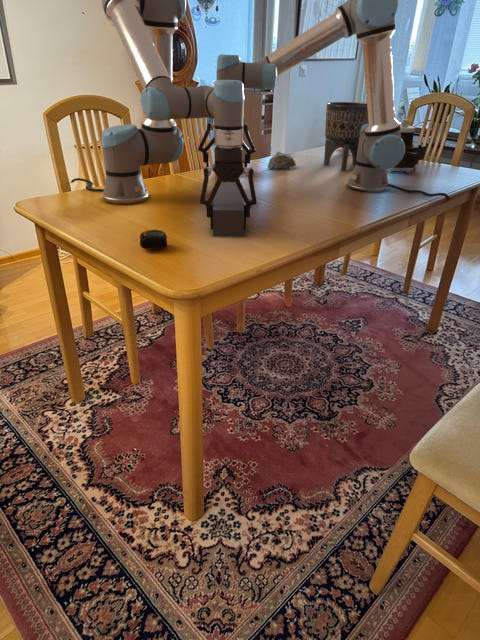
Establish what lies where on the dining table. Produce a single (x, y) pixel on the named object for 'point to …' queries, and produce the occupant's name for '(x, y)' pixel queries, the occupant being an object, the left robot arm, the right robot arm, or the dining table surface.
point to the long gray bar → (228, 210)
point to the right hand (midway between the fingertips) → (226, 172)
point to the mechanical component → (409, 149)
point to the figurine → (341, 151)
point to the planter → (344, 129)
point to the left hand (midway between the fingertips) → (228, 228)
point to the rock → (281, 162)
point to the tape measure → (153, 239)
